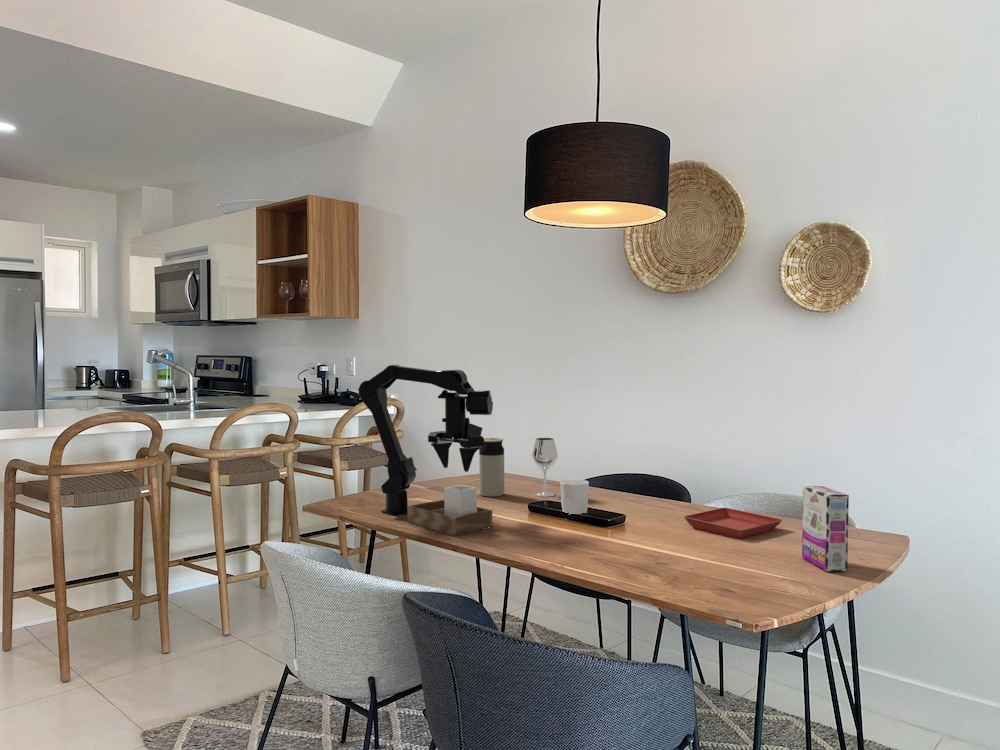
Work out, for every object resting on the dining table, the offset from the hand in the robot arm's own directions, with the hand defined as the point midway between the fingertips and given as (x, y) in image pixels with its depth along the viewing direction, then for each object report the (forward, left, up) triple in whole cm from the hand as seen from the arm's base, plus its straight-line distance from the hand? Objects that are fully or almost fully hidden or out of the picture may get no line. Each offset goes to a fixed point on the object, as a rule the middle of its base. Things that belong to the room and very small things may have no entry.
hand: (456, 469), depth 215 cm
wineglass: (-3, +39, -13) cm, 41 cm away
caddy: (+12, -9, -12) cm, 19 cm away
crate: (+7, -9, -13) cm, 17 cm away
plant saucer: (+62, +42, -14) cm, 76 cm away
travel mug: (-15, +27, -13) cm, 34 cm away
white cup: (+25, +22, -13) cm, 36 cm away
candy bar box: (+93, +27, -13) cm, 98 cm away
